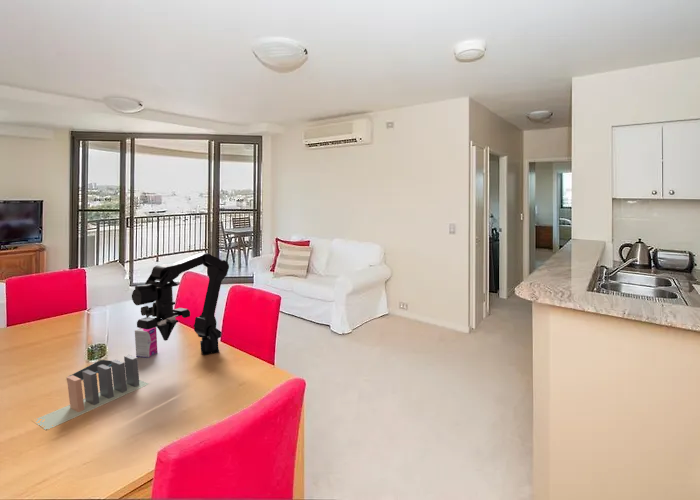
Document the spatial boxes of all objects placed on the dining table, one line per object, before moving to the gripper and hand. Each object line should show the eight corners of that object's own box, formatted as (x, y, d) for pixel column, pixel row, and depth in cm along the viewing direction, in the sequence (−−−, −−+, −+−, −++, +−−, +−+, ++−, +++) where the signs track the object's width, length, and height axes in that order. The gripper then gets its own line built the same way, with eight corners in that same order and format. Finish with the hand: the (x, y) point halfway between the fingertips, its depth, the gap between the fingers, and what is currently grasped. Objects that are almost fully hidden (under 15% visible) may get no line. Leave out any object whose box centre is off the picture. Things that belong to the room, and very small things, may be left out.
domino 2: (91, 398, 120) (87, 369, 119) (99, 402, 118) (96, 373, 116) (85, 401, 119) (82, 371, 117) (93, 405, 116) (90, 375, 115)
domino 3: (105, 392, 124) (102, 364, 123) (113, 396, 121) (111, 367, 120) (100, 394, 123) (97, 366, 121) (108, 398, 120) (105, 369, 119)
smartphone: (64, 378, 134) (101, 359, 148) (65, 380, 134) (101, 362, 148) (81, 380, 132) (116, 361, 146) (81, 383, 132) (116, 363, 146)
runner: (134, 378, 134) (134, 377, 134) (149, 384, 130) (149, 383, 130) (31, 421, 108) (31, 420, 108) (46, 431, 104) (46, 430, 104)
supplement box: (148, 358, 151) (146, 331, 149) (135, 357, 152) (133, 330, 150) (158, 352, 156) (156, 326, 155) (146, 351, 157) (144, 325, 156)
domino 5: (131, 381, 131) (128, 354, 130) (139, 385, 129) (137, 357, 127) (126, 383, 130) (124, 356, 128) (134, 387, 127) (132, 359, 126)
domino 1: (76, 405, 116) (72, 375, 115) (84, 409, 114) (81, 378, 113) (70, 407, 115) (66, 377, 114) (78, 412, 113) (75, 381, 111)
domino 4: (118, 386, 128) (116, 359, 126) (127, 390, 125) (124, 362, 124) (113, 389, 126) (111, 361, 125) (122, 392, 124) (119, 364, 122)
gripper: (170, 292, 149) (171, 329, 151) (125, 302, 133) (127, 344, 134) (190, 295, 145) (191, 334, 147) (146, 306, 128) (148, 350, 130)
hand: (165, 340), depth 139 cm, fingers closed
